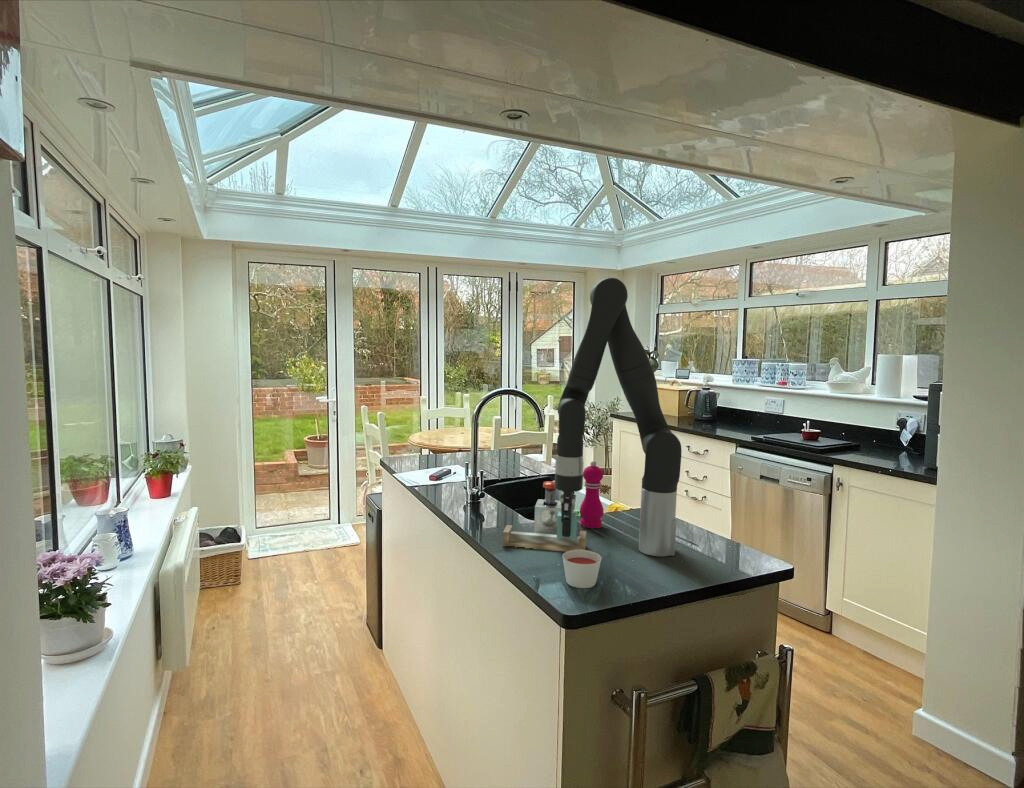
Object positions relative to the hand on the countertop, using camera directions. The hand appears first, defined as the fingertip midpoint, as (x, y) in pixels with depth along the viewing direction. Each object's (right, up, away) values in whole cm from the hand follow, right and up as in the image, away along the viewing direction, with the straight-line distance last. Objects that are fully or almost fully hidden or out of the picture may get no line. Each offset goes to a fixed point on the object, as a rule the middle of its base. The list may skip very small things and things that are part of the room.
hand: (566, 532), depth 164 cm
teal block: (0, -1, 0) cm, 1 cm away
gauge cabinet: (-4, -2, +14) cm, 15 cm away
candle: (+1, -7, -22) cm, 23 cm away
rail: (-6, -4, +1) cm, 7 cm away
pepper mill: (+9, -2, +19) cm, 21 cm away
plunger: (-4, +3, +14) cm, 14 cm away
